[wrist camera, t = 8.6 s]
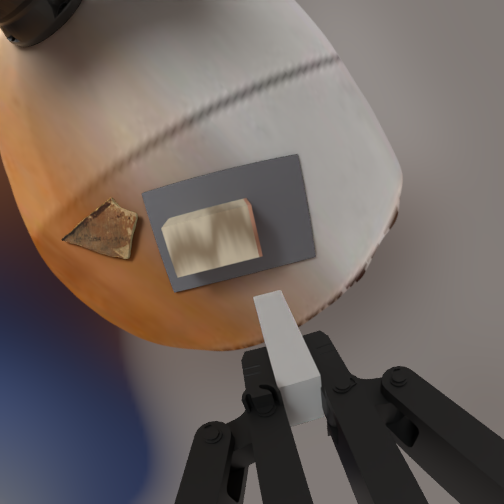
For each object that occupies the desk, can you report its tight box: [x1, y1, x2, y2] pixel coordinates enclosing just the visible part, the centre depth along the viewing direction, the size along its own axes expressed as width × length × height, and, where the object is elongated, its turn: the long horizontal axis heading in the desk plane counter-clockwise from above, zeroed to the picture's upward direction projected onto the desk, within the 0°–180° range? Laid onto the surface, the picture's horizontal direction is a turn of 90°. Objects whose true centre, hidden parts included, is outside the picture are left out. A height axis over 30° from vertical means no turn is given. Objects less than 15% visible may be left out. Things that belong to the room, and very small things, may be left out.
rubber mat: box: [142, 154, 316, 292], centre depth 35 cm, size 14×20×1 cm
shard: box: [62, 198, 138, 259], centre depth 33 cm, size 11×8×2 cm
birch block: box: [161, 198, 263, 277], centre depth 33 cm, size 6×5×10 cm
